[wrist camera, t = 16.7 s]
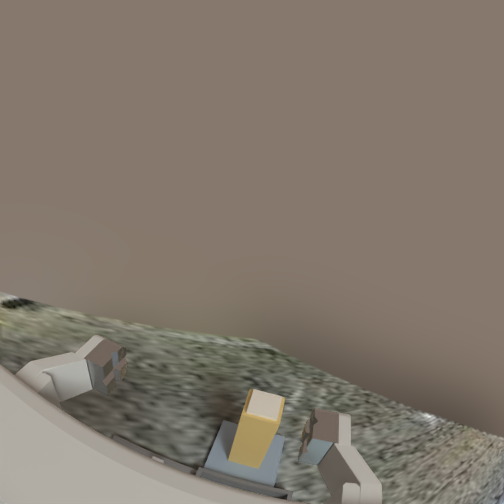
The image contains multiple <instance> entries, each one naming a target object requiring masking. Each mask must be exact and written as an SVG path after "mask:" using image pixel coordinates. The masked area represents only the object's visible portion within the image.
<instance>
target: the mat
mask: <svg viewBox="0 0 504 504" xmlns="http://www.w3.org/2000/svg"><path fill="white" fill-rule="evenodd" d="M238 425H239V424H235V423H232V422H229V421H225V420H223V422H222V425H221V427H220V430H219V432H218V435H217V437H216V439H215V442H214V444H213V447H212V449H211V452H210V454H209V456H208V459H207V461H206V463H205V466H204V469H207V470H210V471H213V472H216V473H220V474H223V475H226V476H230V477H233V478H237V479H241V480H244V481H248V482H252V483H256V484H260V485H265V486H269V487H274V484H275V480H276V475H277V471H278V466H279V462H280V457H281V453H282V448H283V443H284V438H285V436H281V435H276V434H275V435H274V438H273V440H272V442H271V444H270V446H269V448H268V450H267V452H266V455H265V457H264V459H263V461H262V463H261V465H260V467H259V469H258V468H254V467H250V466H246V465H242V464H239V463H235V462H232V461H228V458H229V455H230V452H231V448H232V445H233V442H234V438H235V435H236V431H237V428H238Z"/></svg>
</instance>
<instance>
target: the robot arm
mask: <svg viewBox="0 0 504 504" xmlns="http://www.w3.org/2000/svg"><path fill="white" fill-rule="evenodd" d="M125 355H126V348H124V347H122V346H120V345H118V344H116V343H114V342H112V341H110V340H108V339H106V338H103V337H101V336H99V335H94V336H93V337H92V338H91V339H90V340H89V341H87V342H86V343H85V344H84V345H83V346H82V347H81V348H80V349H79V350H78V351H76V352H75V353H74V352H70V353H65V354H61V355H57V356H52V357H48V358H43V359H39V360H34V361H30V362H29V363H28V364H26V365H25V366H24V367H23V368H22V369H21V370H19V371H18V372H17V373H16V374H15V375H13V374H12V373H11V372H9V371H8V370H7V369H6V368H5V367H3V366H2V365H1V364H0V504H309V503H302V502H296V501H290V500H285V499H280V498H275V497H270V496H265V495H261V494H256V493H252V492H248V491H244V490H240V489H237V488H233V487H230V486H226V485H223V484H219V483H216V482H213V481H210V480H207V479H204V478H201V477H198V476H195V475H192V474H189V473H187V472H184V471H181V470H179V469H176V468H173V467H171V466H168V465H166V464H163V463H161V462H159V461H156V460H154V459H152V458H149V457H147V456H145V455H143V454H141V453H138V452H136V451H134V450H132V449H130V448H128V447H126V446H124V445H122V444H120V443H118V442H116V441H114V440H112V439H110V438H108V437H106V436H105V435H103V434H101V433H99V432H97V431H95V430H94V429H92V428H90V427H88V426H87V425H85V424H83V423H82V422H80V421H78V420H77V419H75V418H73V417H72V416H70V415H69V414H67V413H66V412H64V411H63V409H62V406H61V403H60V402H62V401H65V400H67V399H70V398H72V397H75V396H77V395H80V394H82V393H84V392H87V391H89V390H92V388H93V389H95V390H97V391H99V392H101V393H103V394H105V395H107V396H108V395H109V394H110V393H111V392H112V391H113V389H114V388H115V387H116V383H115V382H117V381H120V380H122V378H123V377H124V376H125V373H126V371H127V361H126V359H125V358H124V357H125ZM301 442H302V443H303V444H302V446H301V447H300V449H299V456H298V462H302V463H307V464H312V465H317V467H318V470H319V472H320V474H321V476H322V478H323V480H324V482H325V484H326V486H327V488H328V490H329V493H330V495H331V497H330V498H329V499H328V500H327V501H326V502H325V503H324V504H382V484H381V483H380V482H379V480H378V479H377V478H376V476H375V475H374V473H373V472H372V471H371V469H370V468H369V467H368V465H367V464H366V462H365V461H364V460H363V458H362V457H361V455H360V454H359V453H358V451H357V450H356V448H355V447H354V446H351V417H350V415H348V414H342V413H337V412H331V411H326V410H321V409H316V408H314V409H313V411H312V412H311V416H310V419H309V420H307V422H306V424H305V426H304V429H303V432H302V437H301Z"/></svg>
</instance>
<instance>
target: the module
mask: <svg viewBox="0 0 504 504" xmlns="http://www.w3.org/2000/svg"><path fill="white" fill-rule="evenodd" d="M284 401H285V398H283V397H281V396H277V395H274V394H270V393H266V392H262V391H259V390H255V389H254V390H252V389H250V391H249V394H248V397H247V400H246V403H245V406H244V408H243V411H242V414H241V418H240V421H239V425H238V428H237V431H236V435H235V438H234V442H233V445H232V448H231V452H230V455H229V458H228V461H232V462H235V463H239V464H242V465H246V466H250V467H254V468H258V469H259V467H260V465H261V463H262V461H263V459H264V457H265V455H266V452H267V450H268V448H269V446H270V444H271V442H272V440H273V438H274V435H275V433H276V431H277V429H278V427H279V424H280V420H281V415H282V411H283V406H284Z"/></svg>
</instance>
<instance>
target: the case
mask: <svg viewBox="0 0 504 504" xmlns="http://www.w3.org/2000/svg"><path fill="white" fill-rule="evenodd" d="M112 440H114V441H116V442H118V443H120V444H122V445H124V446H126V447H128V448H130V449H132V450H134V451H136V452H138V453H141V454H143V455H145V456H147V457H149V458H152V459H154V460H156V461H159V462H161V463H163V464H166V465H168V466H171V467H173V468H176V469H179V470H181V471H184V472H187V473H189V474H192V475H195V476H198V477H202V478H206V479H209V480H212V481H215V482H218V483H221V484H225V485H228V486H232V487H235V488H239V489H243V490H247V491H251V492H255V493H259V494H264V495H268V496H273V497H278V498H283V499H285V500H290V501H291V499H292V494H293V491H289V490H284V489H279V488H274V487H269V486H265V485H260V484H256V483H252V482H248V481H244V480H241V479H237V478H233V477H230V476H226V475H223V474H220V473H216V472H213V471H210V470H207V469H204V468H201V467H199V468H198V470H196V469H194V468H191V467H188V466H185V465H183V464H180V463H177V462H175V461H172V460H170V459H167V458H165V457H162V456H160V455H158V454H155V453H153V452H151V451H148V450H146V449H144V448H142V447H139V446H137V445H135V444H133V443H131V442H129V441H127V440H125V439H123V438H121V437H119V436H117V435H114V436H113V438H112Z"/></svg>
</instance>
